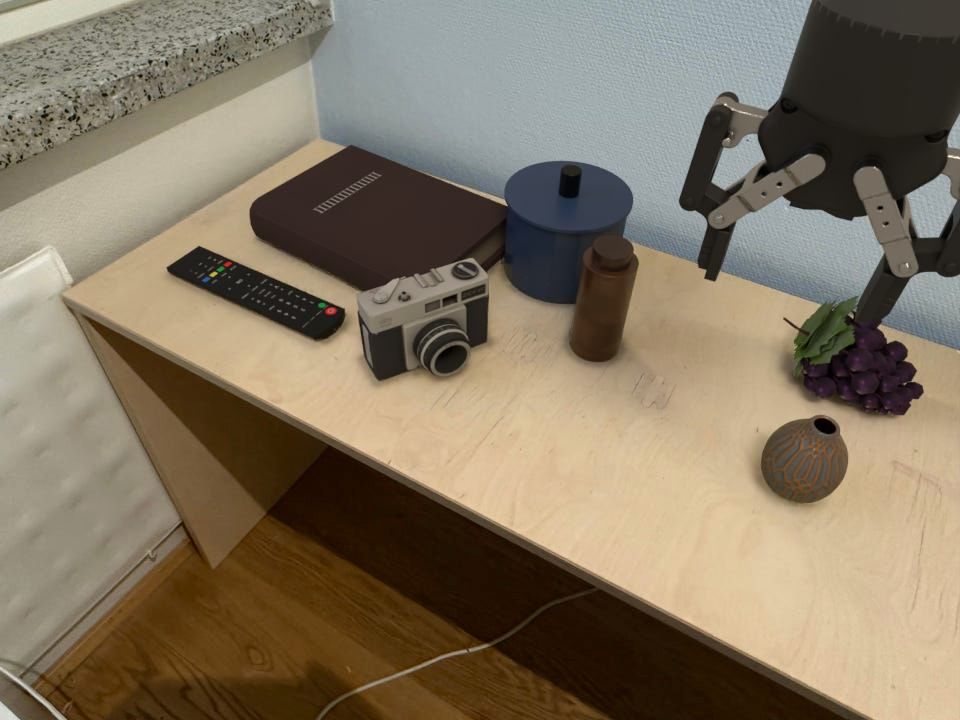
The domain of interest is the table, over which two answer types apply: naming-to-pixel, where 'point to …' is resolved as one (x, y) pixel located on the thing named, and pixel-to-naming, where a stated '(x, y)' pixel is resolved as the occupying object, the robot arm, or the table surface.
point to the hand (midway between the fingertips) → (784, 293)
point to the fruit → (854, 361)
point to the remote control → (259, 293)
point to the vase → (805, 459)
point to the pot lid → (568, 197)
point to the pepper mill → (603, 298)
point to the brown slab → (378, 220)
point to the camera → (425, 320)
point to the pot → (547, 259)
